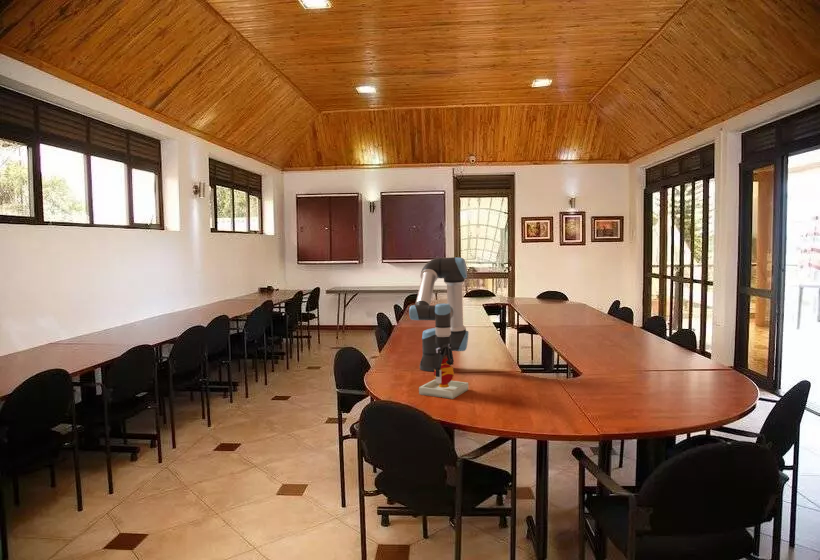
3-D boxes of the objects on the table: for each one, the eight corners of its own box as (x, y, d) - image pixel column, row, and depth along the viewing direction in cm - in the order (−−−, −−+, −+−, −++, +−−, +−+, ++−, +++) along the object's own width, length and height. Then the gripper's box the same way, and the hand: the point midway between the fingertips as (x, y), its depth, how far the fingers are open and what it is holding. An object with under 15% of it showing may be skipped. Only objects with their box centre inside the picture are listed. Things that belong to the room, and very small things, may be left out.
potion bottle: (437, 389, 257) (436, 359, 256) (430, 384, 267) (430, 354, 266) (457, 387, 260) (457, 357, 258) (450, 382, 270) (450, 353, 268)
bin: (436, 385, 275) (436, 378, 275) (468, 389, 266) (468, 382, 266) (419, 394, 260) (418, 387, 260) (452, 399, 251) (452, 391, 251)
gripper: (446, 331, 273) (447, 374, 275) (425, 338, 253) (425, 385, 255) (460, 332, 269) (460, 375, 271) (439, 340, 249) (439, 386, 251)
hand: (443, 380), depth 263 cm, fingers closed on potion bottle, 10 cm apart
